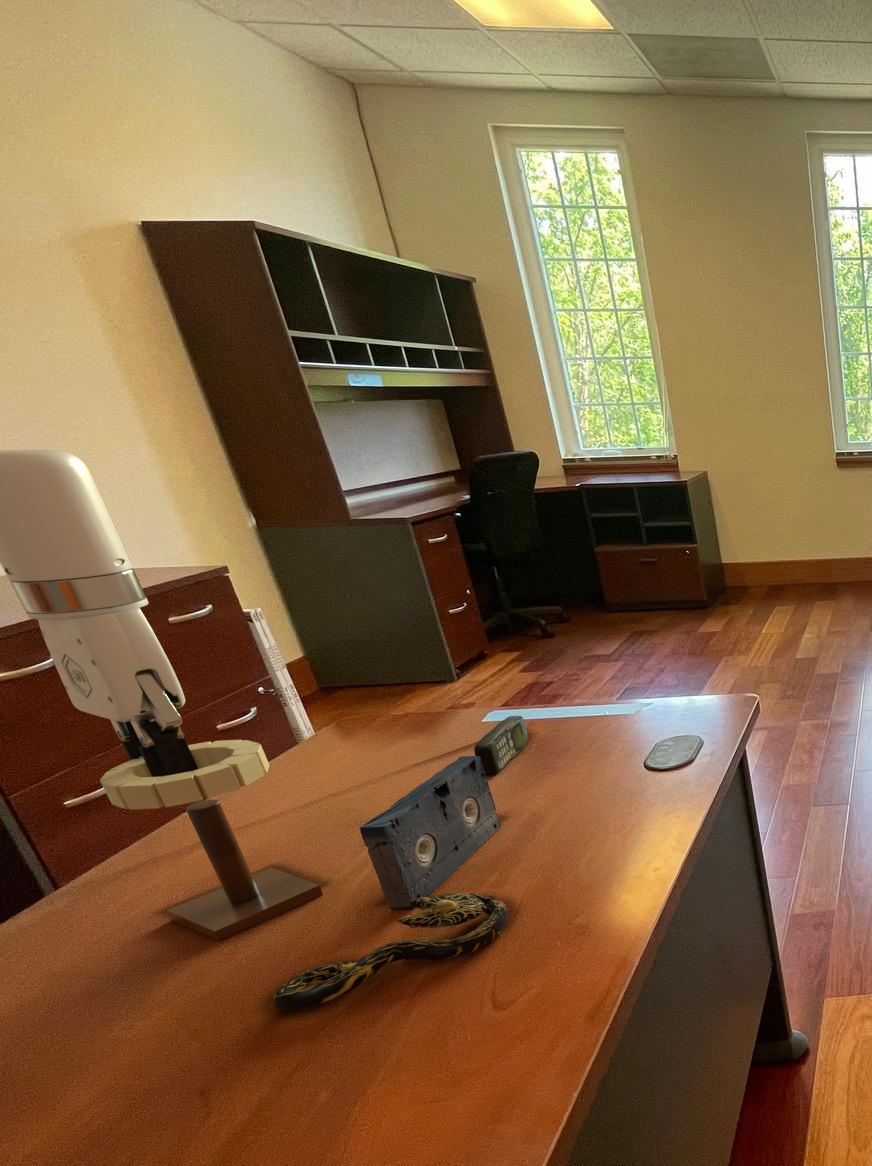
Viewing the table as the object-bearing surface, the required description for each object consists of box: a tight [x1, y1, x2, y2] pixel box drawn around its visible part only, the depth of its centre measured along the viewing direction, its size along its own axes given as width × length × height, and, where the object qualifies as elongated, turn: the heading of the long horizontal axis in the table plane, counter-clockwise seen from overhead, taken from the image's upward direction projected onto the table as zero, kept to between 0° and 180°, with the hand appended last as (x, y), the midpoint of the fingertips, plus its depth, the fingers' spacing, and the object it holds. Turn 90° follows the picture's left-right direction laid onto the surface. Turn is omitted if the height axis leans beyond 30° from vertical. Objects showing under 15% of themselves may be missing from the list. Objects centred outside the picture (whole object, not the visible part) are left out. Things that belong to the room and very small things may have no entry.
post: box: [166, 799, 324, 942], centre depth 81 cm, size 9×9×12 cm
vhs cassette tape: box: [359, 755, 502, 910], centre depth 89 cm, size 18×3×10 cm, turn 4°
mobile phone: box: [473, 715, 528, 776], centre depth 119 cm, size 5×3×15 cm
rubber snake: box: [273, 892, 509, 1012], centre depth 75 cm, size 18×5×10 cm
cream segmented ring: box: [99, 739, 270, 810], centre depth 77 cm, size 11×11×2 cm
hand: (169, 774), depth 79 cm, fingers closed on cream segmented ring, 2 cm apart
